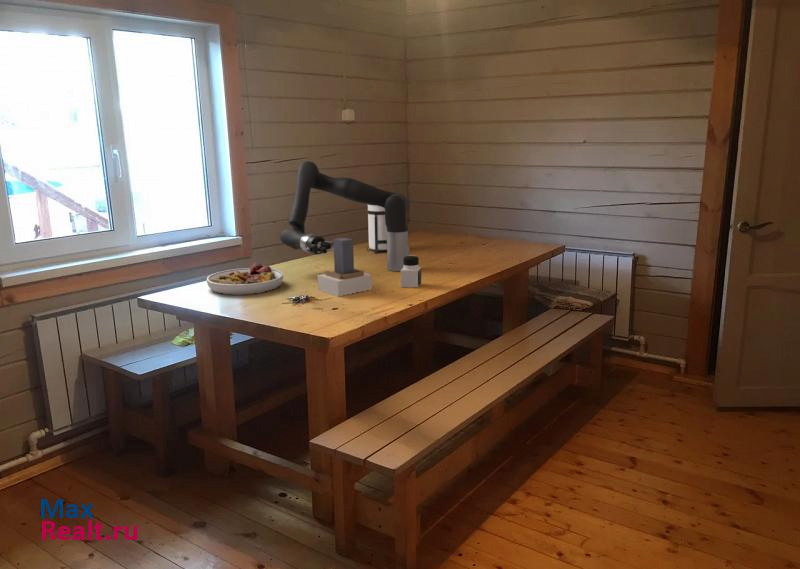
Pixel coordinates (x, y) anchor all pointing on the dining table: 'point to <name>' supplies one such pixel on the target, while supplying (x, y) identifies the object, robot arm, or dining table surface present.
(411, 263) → the medicine bottle
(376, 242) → the coffee press
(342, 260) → the grey tall block
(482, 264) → the dining table surface
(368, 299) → the dining table surface
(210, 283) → the bowl
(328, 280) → the stand
